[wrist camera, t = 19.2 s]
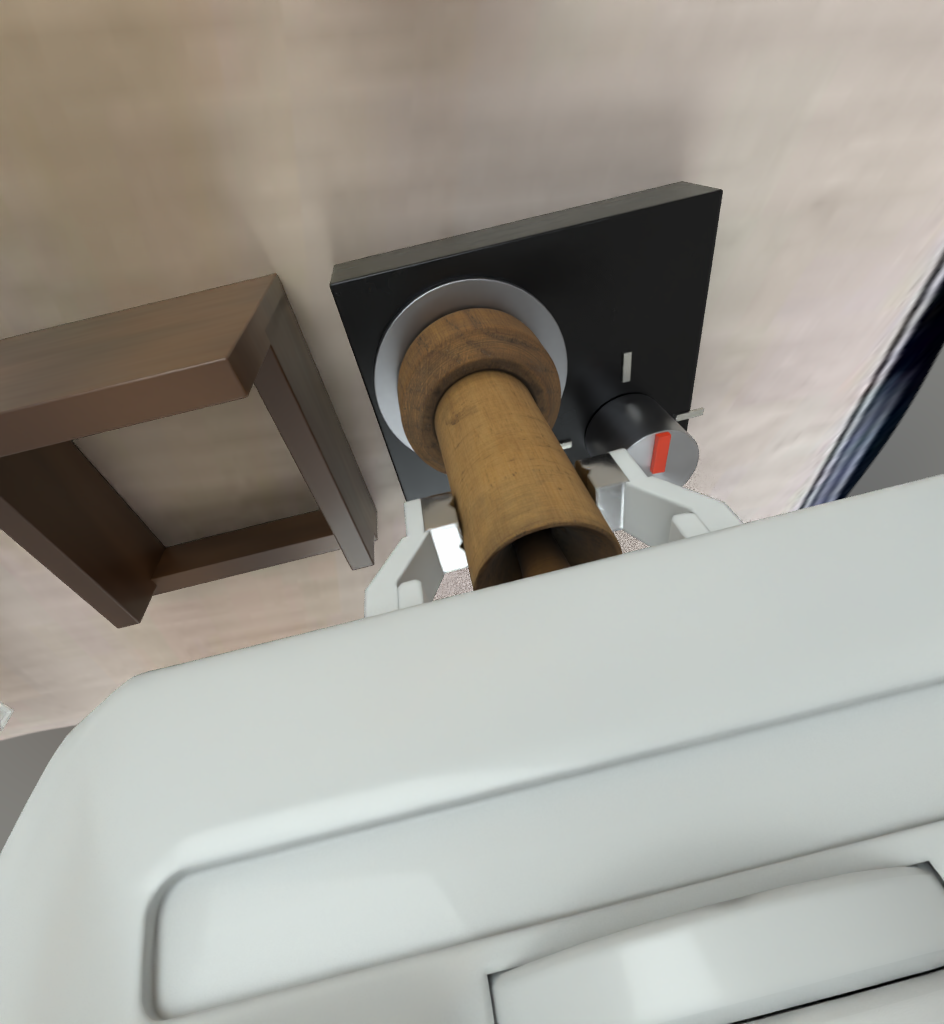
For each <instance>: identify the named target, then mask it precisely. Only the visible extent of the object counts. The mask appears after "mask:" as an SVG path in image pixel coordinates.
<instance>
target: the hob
mask: <svg viewBox="0 0 944 1024" xmlns="http://www.w3.org/2000/svg"><path fill="white" fill-rule="evenodd" d="M722 194H723V190H721V189H717V188H712V187H707V186H702V185H698V184H693V183H688V182H683V181H682V182H677V183H673V184H669V185H665V186H661V187H657V188H652V189H648V190H644V191H640V192H636V193H632V194H628V195H623V196H619V197H615V198H611V199H607V200H603V201H598V202H594V203H590V204H586V205H582V206H578V207H574V208H569V209H565V210H561V211H557V212H553V213H549V214H544V215H540V216H536V217H532V218H528V219H524V220H520V221H515V222H511V223H507V224H503V225H499V226H495V227H491V228H486V229H482V230H478V231H474V232H470V233H466V234H461V235H457V236H453V237H449V238H445V239H441V240H437V241H432V242H428V243H424V244H420V245H416V246H412V247H407V248H403V249H399V250H395V251H391V252H387V253H383V254H378V255H374V256H370V257H366V258H362V259H358V260H353V261H349V262H345V263H341V264H337V265H335V266H334V268H333V273H332V277H331V281H330V289H331V292H332V294H333V297H334V300H335V303H336V306H337V308H338V311H339V314H340V317H341V320H342V322H343V325H344V328H345V331H346V334H347V336H348V339H349V342H350V345H351V348H352V351H353V353H354V356H355V359H356V362H357V365H358V367H359V370H360V373H361V376H362V379H363V381H364V384H365V387H366V390H367V393H368V395H369V398H370V401H371V404H372V407H373V409H374V412H375V415H376V418H377V421H378V424H379V426H380V429H381V432H382V435H383V438H384V440H385V443H386V446H387V449H388V452H389V454H390V457H391V460H392V463H393V466H394V468H395V471H396V474H397V477H398V480H399V482H400V485H401V488H402V491H403V494H404V497H405V499H406V501H411V500H415V499H419V498H420V499H421V498H423V497H427V496H432V495H436V494H441V493H445V492H450V491H451V489H450V485H449V481H448V477H447V474H444V473H442V472H439V471H437V470H436V469H434V468H432V467H431V466H429V465H428V464H426V463H425V462H424V461H423V460H422V459H421V458H420V457H419V456H418V455H417V454H416V453H415V452H414V451H412V450H411V449H410V448H408V447H407V446H406V445H404V444H403V443H402V442H401V441H400V440H399V439H398V438H397V437H396V436H395V435H394V434H393V432H392V431H391V430H390V429H389V427H388V425H387V424H386V422H385V421H384V419H383V417H382V414H381V412H380V410H379V407H378V404H377V400H376V396H375V389H374V364H375V358H376V353H377V350H378V347H379V343H380V341H381V339H382V337H383V334H384V332H385V330H386V329H387V327H388V325H389V324H390V322H391V321H392V319H393V318H394V317H395V316H396V314H397V313H398V312H399V311H400V310H401V309H402V307H404V306H405V305H406V304H407V303H408V302H409V301H410V300H411V299H413V298H414V297H415V296H417V295H418V294H420V293H421V292H423V291H424V290H426V289H428V288H430V287H432V286H434V285H437V284H439V283H442V282H445V281H448V280H451V279H456V278H462V277H473V276H483V277H491V278H497V279H500V280H504V281H508V282H510V283H512V284H515V285H517V286H519V287H521V288H523V289H524V290H526V291H527V292H529V293H530V294H532V295H533V296H534V297H535V298H536V299H538V300H539V301H540V302H541V303H542V304H543V305H544V306H545V307H546V309H547V310H548V311H549V312H550V313H551V315H552V316H553V318H554V319H555V321H556V323H557V324H558V326H559V329H560V331H561V333H562V336H563V339H564V343H565V347H566V352H567V378H566V384H565V388H564V391H563V395H562V398H561V402H560V408H559V412H558V416H557V419H556V422H555V424H554V426H553V428H552V431H553V433H554V435H555V436H556V438H557V440H558V441H559V443H560V445H561V447H562V448H563V450H564V452H565V453H566V455H567V457H568V458H569V460H570V462H571V463H572V465H573V467H574V468H575V461H577V460H581V459H584V458H588V457H591V456H590V454H589V453H588V451H587V448H586V444H585V436H586V431H587V428H588V425H589V423H590V421H591V420H592V418H593V417H594V415H595V414H596V413H597V412H598V411H599V410H600V409H601V408H602V407H603V406H604V405H606V404H607V403H608V402H610V401H612V400H614V399H616V398H618V397H621V396H624V395H628V394H643V395H646V396H649V397H651V398H653V399H654V400H655V401H656V402H657V403H658V404H659V405H660V406H661V407H662V408H663V409H664V410H665V411H666V412H667V413H668V414H669V415H670V416H671V417H672V418H673V419H674V420H675V421H676V422H677V423H678V424H679V425H680V426H681V427H682V428H683V429H684V430H685V431H686V432H687V427H688V420H689V418H693V417H697V416H701V415H703V412H704V408H698V409H694V410H690V407H691V400H692V394H693V387H694V380H695V374H696V367H697V360H698V354H699V347H700V340H701V334H702V327H703V320H704V314H705V307H706V300H707V294H708V287H709V280H710V274H711V267H712V260H713V254H714V247H715V240H716V234H717V227H718V220H719V214H720V207H721V200H722Z"/></svg>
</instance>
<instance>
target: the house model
mask: <svg viewBox="0 0 944 1024" xmlns="http://www.w3.org/2000/svg"><path fill="white" fill-rule="evenodd" d="M13 712H14V710H13V709H12V708H10V707H8V706H7V705H5V704H4V703H2V702H1V701H0V731H2V730H3V729H4V727H5V726H6V724H7V722H8V720H9V719H10V717H11V715H12V714H13Z"/></svg>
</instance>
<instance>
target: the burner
mask: <svg viewBox="0 0 944 1024" xmlns="http://www.w3.org/2000/svg"><path fill="white" fill-rule="evenodd" d="M471 308H489V309H494V310H499V311H502V312H505V313H507V314H510V315H512V316H513V317H515V318H517V319H518V320H520V321H521V322H522V323H524V324H525V325H526V326H527V327H528V328H529V329H530V330H531V331H532V332H533V333H534V334H535V336H536V337H537V338H538V340H539V341H540V342H541V344H542V345H543V347H544V348H545V349H546V351H547V352H548V354H549V355H550V357H551V358H552V360H553V362H554V364H555V366H556V369H557V372H558V375H559V379H560V385H561V398H562V395H563V391H564V388H565V384H566V378H567V352H566V347H565V343H564V339H563V336H562V333H561V331H560V329H559V326H558V324H557V323H556V321H555V319H554V318H553V316H552V315H551V313H550V312H549V311H548V310H547V309H546V307H545V306H544V305H543V304H542V303H541V302H540V301H539V300H538V299H536V298H535V297H534V296H533V295H532V294H530V293H529V292H527V291H526V290H524V289H523V288H521V287H519V286H517V285H515V284H512V283H510V282H508V281H504V280H500V279H497V278H491V277H483V276H473V277H462V278H456V279H451V280H448V281H445V282H442V283H439V284H437V285H434V286H432V287H430V288H428V289H426V290H424V291H423V292H421V293H420V294H418V295H417V296H415V297H414V298H413V299H411V300H410V301H409V302H408V303H407V304H406V305H405V306H404V307H402V309H401V310H400V311H399V312H398V313H397V314H396V316H395V317H394V318H393V319H392V321H391V322H390V324H389V325H388V327H387V329H386V330H385V332H384V334H383V337H382V339H381V341H380V343H379V347H378V350H377V353H376V358H375V364H374V389H375V396H376V400H377V404H378V407H379V410H380V412H381V414H382V417H383V419H384V421H385V422H386V424H387V425H388V427H389V429H390V430H391V431H392V432H393V434H394V435H395V436H396V437H397V438H398V439H399V440H400V441H401V442H402V443H403V444H404V445H406V446H407V447H408V448H410V449H411V450H412V451H414V450H413V449H412V447H411V445H410V444H409V442H408V440H407V438H406V435H405V432H404V429H403V426H402V421H401V415H400V409H399V403H398V393H397V383H398V376H399V371H400V367H401V364H402V361H403V358H404V356H405V354H406V352H407V350H408V348H409V347H410V345H411V344H412V342H413V341H414V340H415V339H416V337H417V336H418V335H419V334H420V333H421V332H422V331H423V330H424V329H425V328H427V327H428V326H429V325H430V324H432V323H433V322H435V321H437V320H438V319H440V318H442V317H444V316H446V315H448V314H451V313H454V312H457V311H460V310H465V309H471ZM414 452H415V451H414Z"/></svg>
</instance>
